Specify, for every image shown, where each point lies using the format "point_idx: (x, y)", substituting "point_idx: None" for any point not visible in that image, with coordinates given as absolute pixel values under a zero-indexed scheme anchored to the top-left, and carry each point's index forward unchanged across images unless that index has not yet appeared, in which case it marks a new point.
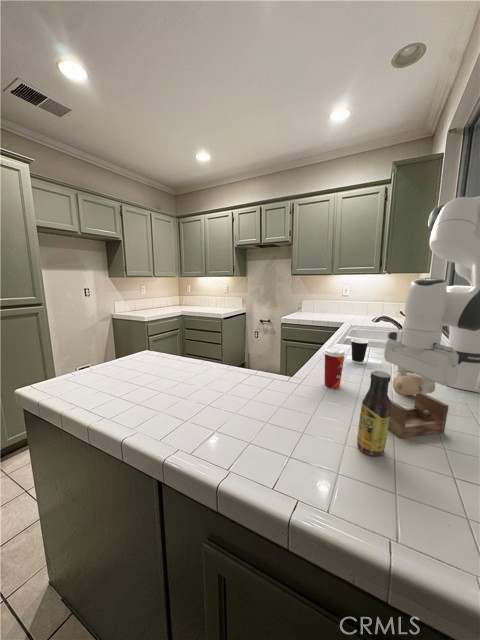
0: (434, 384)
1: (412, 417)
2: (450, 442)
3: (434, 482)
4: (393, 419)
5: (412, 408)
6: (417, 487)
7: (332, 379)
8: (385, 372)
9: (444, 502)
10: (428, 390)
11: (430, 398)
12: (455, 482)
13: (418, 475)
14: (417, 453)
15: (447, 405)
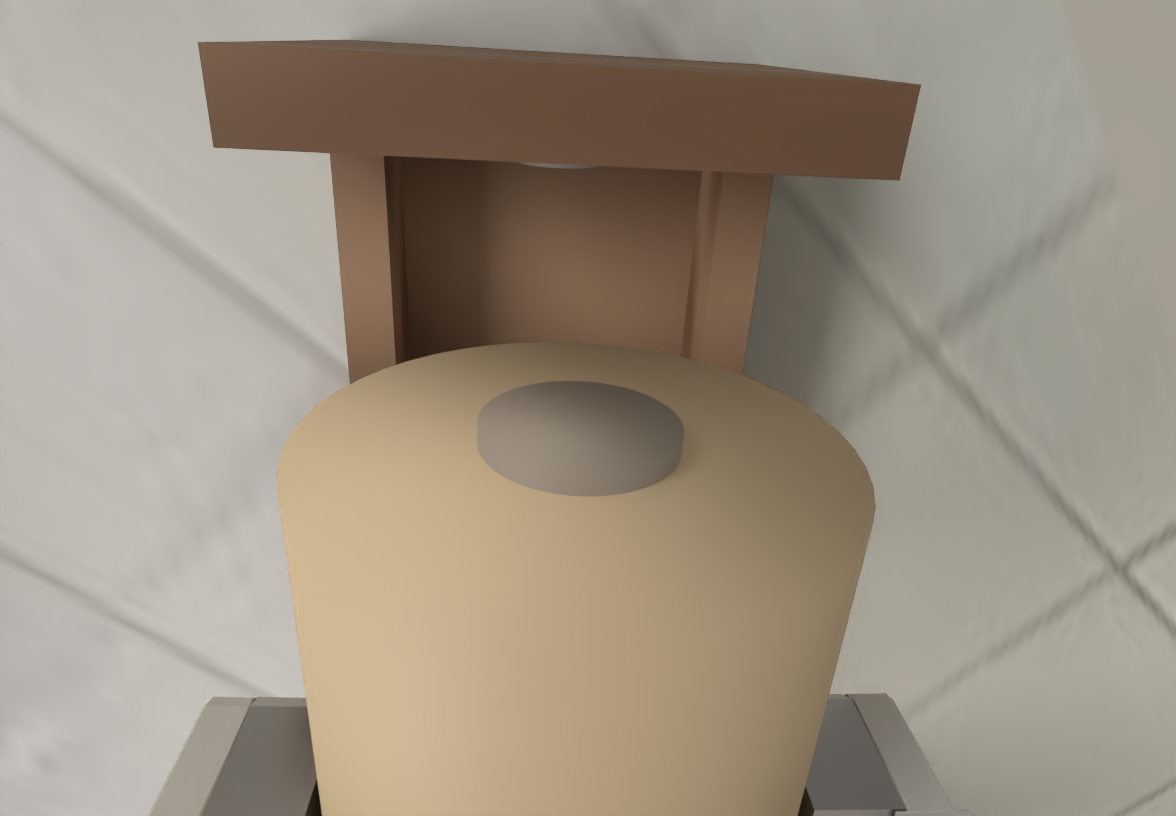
0: (864, 515)
1: (448, 229)
2: (897, 187)
3: (1073, 692)
4: None
5: (361, 189)
6: (1042, 784)
7: None
8: None
9: (1164, 745)
10: (910, 749)
11: (580, 160)
12: (1143, 592)
13: (997, 726)
14: (868, 591)
15: (908, 105)
